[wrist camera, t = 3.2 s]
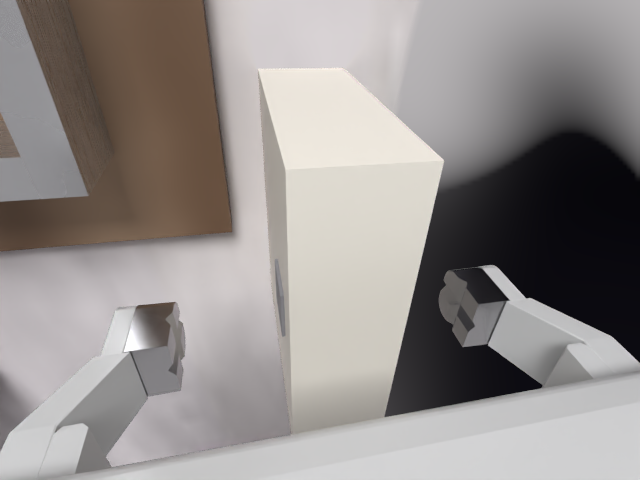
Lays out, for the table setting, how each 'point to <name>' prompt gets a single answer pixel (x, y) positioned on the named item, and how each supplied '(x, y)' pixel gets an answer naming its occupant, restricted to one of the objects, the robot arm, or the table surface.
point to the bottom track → (47, 105)
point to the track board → (140, 133)
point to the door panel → (340, 239)
